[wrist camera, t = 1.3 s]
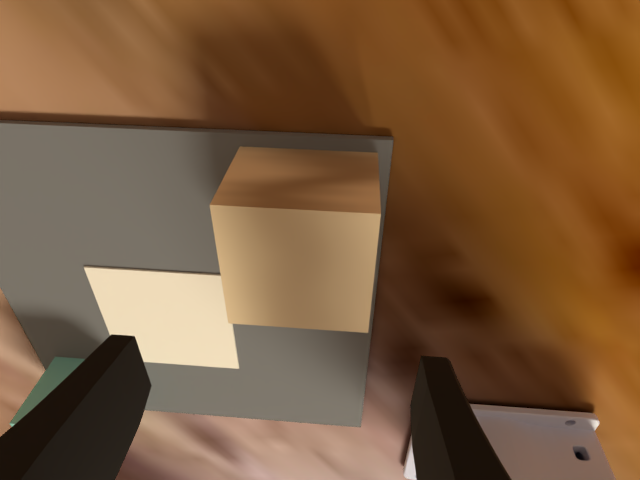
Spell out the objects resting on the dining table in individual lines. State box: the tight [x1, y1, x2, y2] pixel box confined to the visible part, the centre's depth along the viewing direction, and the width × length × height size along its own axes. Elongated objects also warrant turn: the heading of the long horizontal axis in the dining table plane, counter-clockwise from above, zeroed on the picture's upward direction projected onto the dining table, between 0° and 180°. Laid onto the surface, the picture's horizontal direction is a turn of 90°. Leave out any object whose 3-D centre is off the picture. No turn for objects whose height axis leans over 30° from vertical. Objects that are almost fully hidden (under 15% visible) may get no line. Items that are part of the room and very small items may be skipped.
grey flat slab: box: [0, 120, 393, 427], centre depth 22 cm, size 18×18×1 cm
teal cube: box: [9, 357, 85, 426], centre depth 24 cm, size 4×4×4 cm
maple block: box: [210, 146, 381, 333], centre depth 16 cm, size 5×5×4 cm
